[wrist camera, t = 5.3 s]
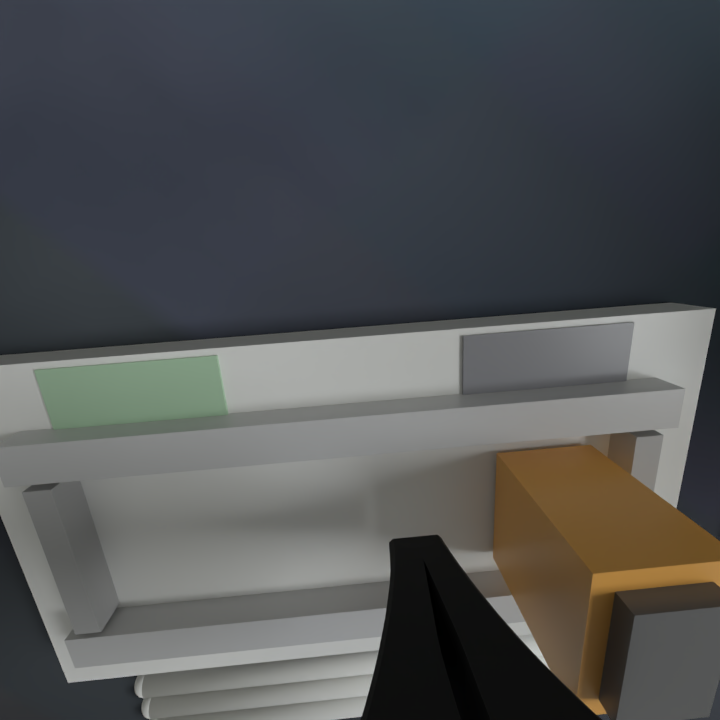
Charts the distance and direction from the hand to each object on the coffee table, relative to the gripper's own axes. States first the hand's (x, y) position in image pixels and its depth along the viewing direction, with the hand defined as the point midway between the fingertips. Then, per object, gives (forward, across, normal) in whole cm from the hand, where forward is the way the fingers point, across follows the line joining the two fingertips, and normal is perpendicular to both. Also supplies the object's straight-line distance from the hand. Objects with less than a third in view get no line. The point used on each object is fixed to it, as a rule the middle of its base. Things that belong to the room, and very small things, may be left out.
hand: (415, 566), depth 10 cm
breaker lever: (+2, -4, 0) cm, 5 cm away
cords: (+4, +2, +9) cm, 10 cm away
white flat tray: (+4, +2, 0) cm, 4 cm away
